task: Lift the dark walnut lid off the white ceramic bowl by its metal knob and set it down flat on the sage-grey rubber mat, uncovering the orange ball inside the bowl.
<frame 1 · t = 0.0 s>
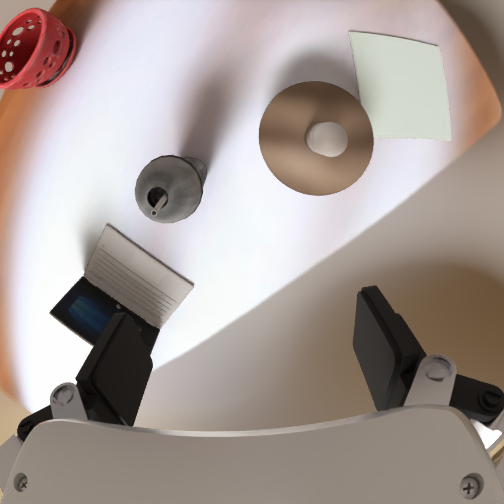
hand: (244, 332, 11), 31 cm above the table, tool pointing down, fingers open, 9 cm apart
plant pot: (57, 56, 29), on the table
laptop: (135, 279, 46), on the table
mat: (405, 86, 32), on the table
lid: (317, 137, 31), point 6 cm above the table, touching bowl
beverage cup: (191, 173, 39), on the table
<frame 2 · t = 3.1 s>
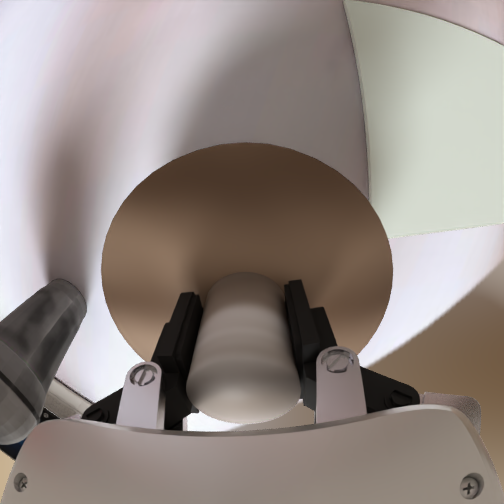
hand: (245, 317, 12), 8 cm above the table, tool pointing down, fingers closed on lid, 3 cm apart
laptop: (55, 393, 29), on the table
mat: (459, 122, 15), on the table
lid: (246, 295, 13), point 6 cm above the table, touching bowl, gripper
beverage cup: (67, 299, 21), on the table
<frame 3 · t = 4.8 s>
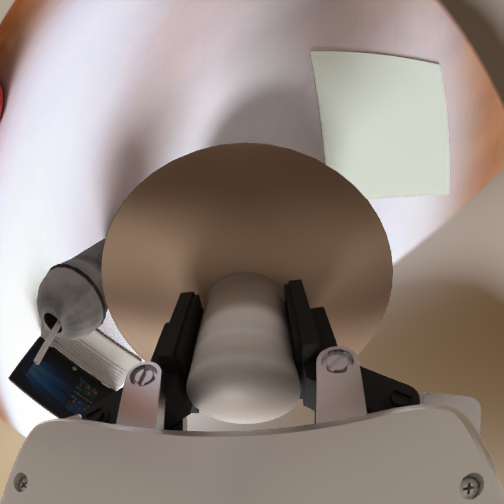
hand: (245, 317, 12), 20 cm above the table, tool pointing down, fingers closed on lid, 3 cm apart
laptop: (87, 345, 40), on the table
mat: (391, 124, 26), on the table
lid: (246, 295, 13), point 18 cm above the table, touching gripper
beverage cup: (120, 249, 33), on the table
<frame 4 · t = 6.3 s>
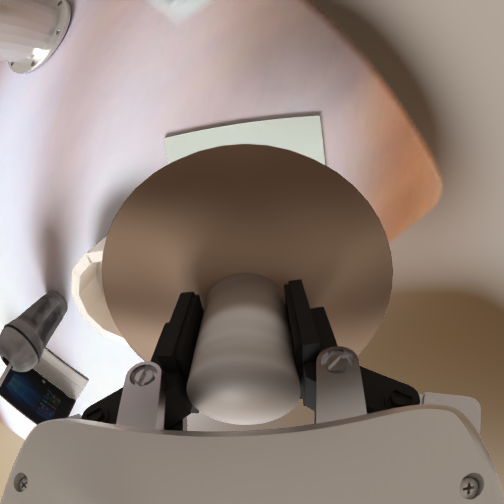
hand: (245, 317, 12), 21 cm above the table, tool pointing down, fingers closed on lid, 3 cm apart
laptop: (50, 365, 45), on the table
mat: (251, 198, 31), on the table
lid: (246, 296, 13), point 19 cm above the table, touching gripper
bowl: (134, 277, 35), on the table
beverage cup: (57, 301, 38), on the table
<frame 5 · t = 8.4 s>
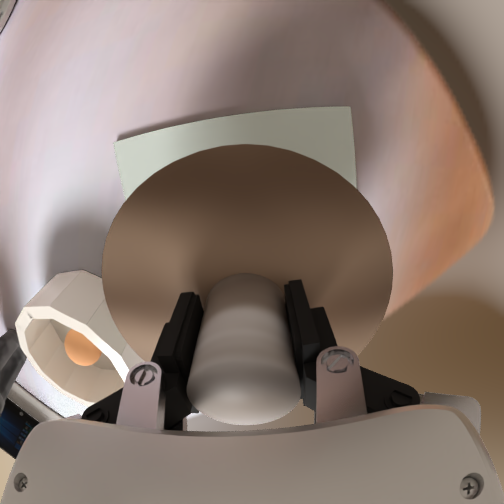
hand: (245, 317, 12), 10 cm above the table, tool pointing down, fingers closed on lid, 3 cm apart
laptop: (26, 398, 35), on the table
mat: (245, 231, 21), on the table
lid: (246, 296, 13), point 8 cm above the table, touching gripper
bowl: (94, 327, 25), on the table
beverage cup: (19, 341, 27), on the table
ball: (83, 345, 22), point 3 cm above the table, touching bowl
when the fingers open (4 cm above the table, at t = 10.0 s): lid drops 1 cm, resting on mat.
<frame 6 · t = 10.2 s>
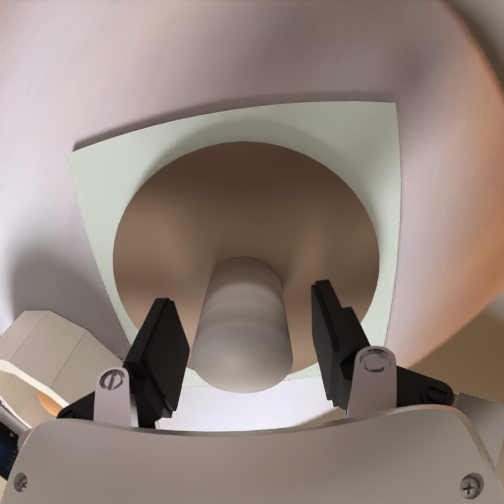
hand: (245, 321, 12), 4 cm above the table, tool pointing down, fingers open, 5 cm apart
laptop: (15, 421, 29), on the table
mat: (246, 275, 15), on the table
lid: (245, 279, 15), resting on mat
bowl: (71, 370, 19), on the table
ball: (58, 394, 17), point 3 cm above the table, touching bowl
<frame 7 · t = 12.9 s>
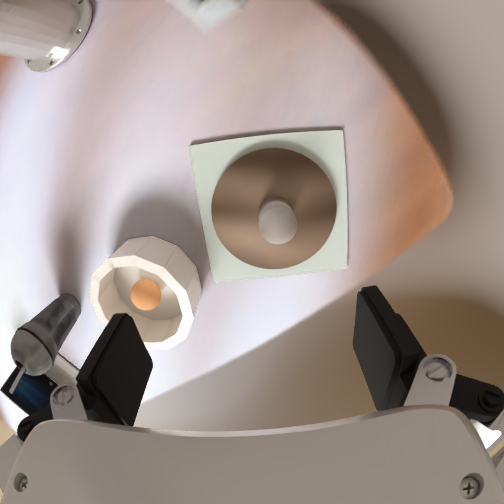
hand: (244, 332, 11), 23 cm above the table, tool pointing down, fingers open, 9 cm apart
laptop: (59, 368, 46), on the table
mat: (274, 208, 32), on the table
lid: (274, 209, 32), resting on mat
bowl: (152, 283, 36), on the table
beverage cup: (70, 304, 39), on the table
ball: (145, 294, 33), point 3 cm above the table, touching bowl
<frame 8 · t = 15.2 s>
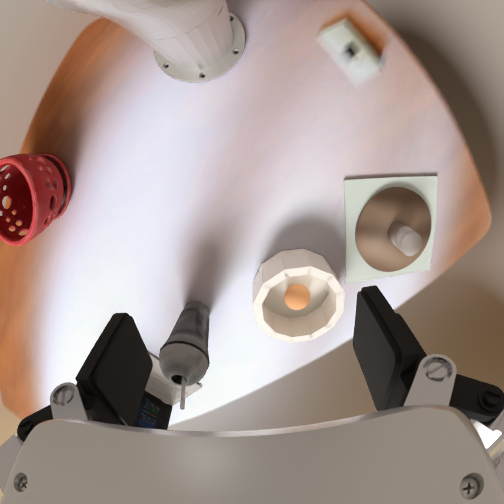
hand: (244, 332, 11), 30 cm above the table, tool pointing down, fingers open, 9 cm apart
plant pot: (52, 184, 38), on the table
laptop: (154, 375, 55), on the table
mat: (393, 229, 41), on the table
lid: (394, 229, 41), resting on mat
bowl: (294, 286, 45), on the table
beverage cup: (196, 311, 47), on the table
ball: (297, 296, 42), point 3 cm above the table, touching bowl
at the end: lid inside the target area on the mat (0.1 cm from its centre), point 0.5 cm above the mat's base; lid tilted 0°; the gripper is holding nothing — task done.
